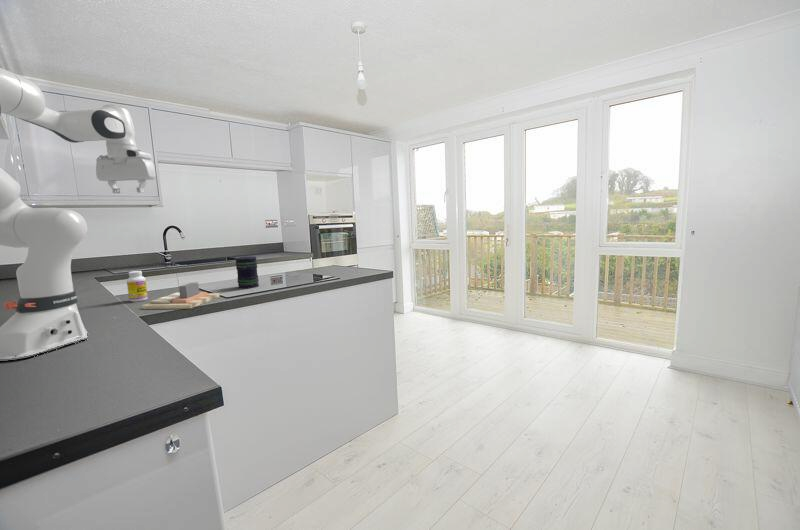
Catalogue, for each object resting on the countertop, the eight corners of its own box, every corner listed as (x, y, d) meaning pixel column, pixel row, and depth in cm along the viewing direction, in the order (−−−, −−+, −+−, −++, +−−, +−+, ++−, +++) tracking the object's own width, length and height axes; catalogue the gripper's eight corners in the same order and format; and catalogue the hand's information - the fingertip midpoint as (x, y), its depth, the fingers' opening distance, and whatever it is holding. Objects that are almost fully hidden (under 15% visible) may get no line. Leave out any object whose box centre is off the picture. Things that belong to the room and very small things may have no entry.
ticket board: (190, 308, 138) (189, 301, 137) (142, 309, 139) (141, 302, 139) (219, 296, 157) (218, 290, 157) (177, 297, 159) (176, 291, 158)
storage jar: (239, 285, 181) (236, 257, 179) (259, 284, 184) (257, 256, 182) (236, 289, 172) (233, 259, 170) (258, 287, 175) (255, 258, 173)
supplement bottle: (138, 302, 151) (134, 273, 149) (125, 302, 152) (121, 272, 150) (151, 298, 157) (148, 270, 155) (139, 298, 159) (135, 270, 157)
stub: (186, 302, 141) (184, 287, 140) (172, 303, 141) (170, 287, 140) (207, 294, 154) (205, 281, 154) (194, 295, 155) (192, 281, 154)
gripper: (88, 154, 125) (94, 193, 127) (142, 151, 124) (148, 191, 126) (103, 156, 131) (109, 194, 133) (155, 154, 130) (160, 192, 132)
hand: (128, 192), depth 130 cm, fingers open, 8 cm apart
